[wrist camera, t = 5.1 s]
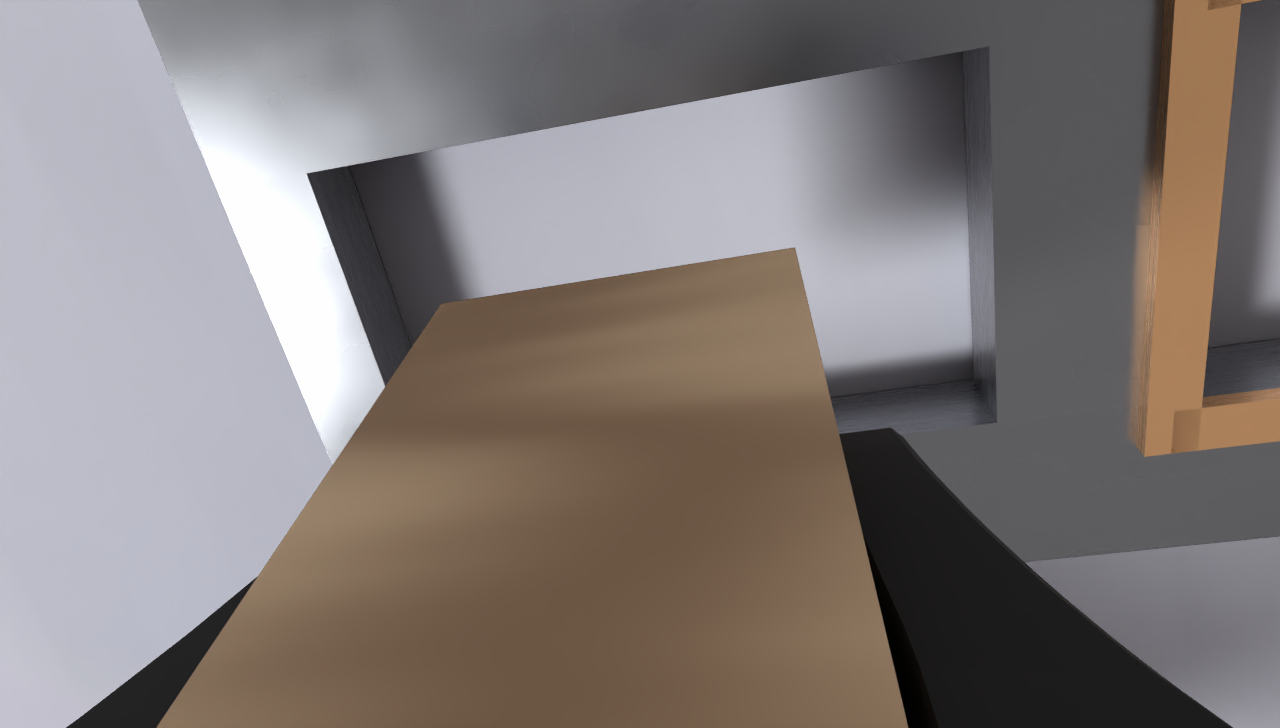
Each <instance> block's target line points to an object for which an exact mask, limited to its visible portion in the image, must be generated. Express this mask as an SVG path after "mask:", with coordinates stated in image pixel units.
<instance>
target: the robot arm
mask: <svg viewBox="0 0 1280 728" xmlns="http://www.w3.org/2000/svg"><path fill="white" fill-rule="evenodd" d="M839 436H840V441H841V445H842V449H843V453H844V457H845V462H846V466H847V470H848V474H849V479H850V483H851V487H852V491H853V496H854V500H855V504H856V508H857V512H858V517H859V521H860V525H861V529H862V534H863V538H864V542H865V546H866V551H867V555H868V559H869V563H870V568H871V572H872V576H873V580H874V584H875V589H876V593H877V597H878V601H879V606H880V610H881V614H882V618H883V623H884V627H885V631H886V635H887V640H888V644H889V648H890V652H891V656H892V661H893V665H894V669H895V673H896V678H897V682H898V686H899V690H900V695H901V699H902V703H903V707H904V711H905V716H906V720H907V724H908V728H1233V727H1231V726H1230V725H1228V724H1227V723H1226V722H1224V721H1223V720H1221V719H1220V718H1219V717H1217V716H1216V715H1215V714H1213V713H1212V712H1210V711H1209V710H1208V709H1206V708H1205V707H1203V706H1202V705H1201V704H1199V703H1198V702H1196V701H1195V700H1194V699H1192V698H1191V697H1189V696H1188V695H1187V694H1185V693H1184V692H1182V691H1181V690H1180V689H1178V688H1177V687H1176V686H1174V685H1173V684H1172V683H1170V682H1169V681H1168V680H1166V679H1165V678H1164V677H1162V676H1161V675H1160V674H1158V673H1157V672H1156V671H1154V670H1153V669H1152V668H1150V667H1149V666H1148V665H1147V664H1145V663H1144V662H1143V661H1141V660H1140V659H1139V658H1138V657H1136V656H1135V655H1134V654H1132V653H1131V652H1130V651H1129V650H1127V649H1126V648H1125V647H1124V646H1122V645H1121V644H1120V643H1118V642H1117V641H1116V640H1115V639H1113V638H1112V637H1111V636H1110V635H1109V634H1107V633H1106V632H1105V631H1104V630H1103V629H1101V628H1100V627H1099V626H1098V625H1096V624H1095V623H1094V622H1093V621H1092V620H1090V619H1089V618H1088V617H1087V616H1086V615H1084V614H1083V613H1082V612H1081V611H1080V610H1078V609H1077V608H1076V607H1075V606H1074V605H1072V604H1071V603H1070V602H1069V601H1068V600H1066V599H1065V598H1064V597H1063V596H1062V595H1061V594H1059V593H1058V592H1057V591H1056V590H1055V589H1054V588H1053V587H1051V586H1050V585H1049V584H1048V583H1047V582H1046V581H1045V580H1043V579H1042V578H1041V577H1040V576H1039V575H1038V574H1037V573H1035V572H1034V571H1033V570H1032V569H1031V568H1030V567H1029V566H1028V565H1027V564H1026V563H1025V562H1024V561H1023V560H1021V559H1020V558H1019V557H1018V556H1017V555H1016V554H1015V553H1014V552H1013V551H1012V550H1011V549H1010V548H1009V547H1008V546H1007V545H1005V544H1004V543H1003V542H1002V541H1001V540H1000V539H999V538H998V537H997V536H996V535H995V534H994V533H993V532H992V531H990V530H989V529H988V528H987V527H986V526H985V525H984V524H983V523H982V522H981V521H980V520H979V519H978V518H977V517H976V516H975V515H974V514H973V513H972V512H971V511H970V510H969V509H968V508H967V507H966V506H965V505H964V504H963V503H962V502H961V501H960V500H959V499H958V498H957V497H956V496H955V494H954V493H953V492H952V491H951V490H950V489H949V488H948V487H947V486H946V485H945V484H944V483H943V482H942V481H941V480H940V479H939V478H938V476H937V475H936V474H935V473H934V472H933V471H932V470H931V469H930V468H929V467H928V465H927V464H926V463H925V462H924V461H923V460H922V459H921V458H920V456H919V455H918V454H917V453H916V452H915V450H914V449H913V448H912V447H911V446H910V445H909V443H908V442H907V441H906V440H905V438H904V437H903V436H901V435H900V434H899V433H897V432H896V431H895V430H893V429H892V428H883V429H875V430H867V431H859V432H851V433H843V434H839ZM256 579H257V577H256V578H255V579H254V580H253V581H252V582H250V583H249V584H248V585H247V586H246V587H244V588H243V589H242V590H241V591H240V592H238V593H237V594H236V595H235V596H233V597H232V598H231V599H230V600H229V601H227V602H226V603H225V604H224V605H223V606H221V607H220V608H219V609H218V610H216V611H215V612H214V613H213V614H212V615H210V616H209V617H208V618H207V619H206V620H204V621H203V622H202V623H201V624H200V625H198V626H197V627H196V628H195V629H193V630H192V631H191V632H190V633H188V634H187V635H186V636H185V637H183V638H182V639H181V640H180V641H178V642H177V643H176V644H174V645H173V646H172V647H171V648H169V649H168V650H167V651H165V652H164V653H163V654H161V655H160V656H159V657H158V658H156V659H155V660H154V661H152V662H151V663H150V664H149V665H147V666H146V667H145V668H143V669H142V670H141V671H140V672H138V673H137V674H136V675H134V676H133V677H132V678H131V679H129V680H128V681H127V682H125V683H124V684H123V685H122V686H120V687H119V688H118V689H116V690H115V691H114V692H112V693H111V694H110V695H109V696H107V697H106V698H105V699H103V700H102V701H101V702H100V703H98V704H97V705H96V706H94V707H93V708H92V709H91V710H89V711H88V712H87V713H85V714H84V715H83V716H82V717H80V718H79V719H77V720H76V721H75V722H73V723H72V724H71V725H69V726H68V727H66V728H156V727H157V726H158V725H159V723H160V722H161V720H162V719H163V717H164V716H165V714H166V713H167V711H168V710H169V708H170V707H171V705H172V704H173V702H174V701H175V699H176V698H177V696H178V695H179V693H180V692H181V690H182V689H183V687H184V686H185V684H186V683H187V681H188V680H189V678H190V677H191V675H192V674H193V672H194V671H195V669H196V668H197V666H198V665H199V663H200V662H201V660H202V659H203V657H204V656H205V655H206V653H207V652H208V650H209V649H210V647H211V646H212V644H213V643H214V641H215V640H216V638H217V637H218V635H219V634H220V632H221V631H222V629H223V628H224V626H225V625H226V623H227V622H228V620H229V619H230V617H231V616H232V614H233V613H234V611H235V610H236V608H237V607H238V605H239V604H240V602H241V601H242V599H243V598H244V596H245V595H246V593H247V592H248V590H249V589H250V587H251V586H252V584H253V583H254V582H255V580H256Z"/></svg>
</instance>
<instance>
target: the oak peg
mask: <svg viewBox="0 0 1280 728" xmlns="http://www.w3.org/2000/svg"><path fill="white" fill-rule="evenodd" d="M156 728H908V724H907V720H906V716H905V711H904V707H903V703H902V699H901V695H900V690H899V686H898V682H897V678H896V673H895V669H894V665H893V661H892V656H891V652H890V648H889V644H888V640H887V635H886V631H885V627H884V623H883V618H882V614H881V610H880V606H879V601H878V597H877V593H876V589H875V584H874V580H873V576H872V572H871V568H870V563H869V559H868V555H867V551H866V546H865V542H864V538H863V534H862V529H861V525H860V521H859V517H858V512H857V508H856V504H855V500H854V496H853V491H852V487H851V483H850V479H849V474H848V470H847V466H846V462H845V457H844V453H843V449H842V445H841V441H840V436H839V432H838V428H837V424H836V419H835V415H834V411H833V407H832V402H831V398H830V394H829V390H828V385H827V381H826V377H825V373H824V369H823V364H822V360H821V356H820V352H819V347H818V343H817V339H816V335H815V330H814V326H813V322H812V318H811V313H810V309H809V305H808V301H807V297H806V292H805V288H804V284H803V280H802V275H801V271H800V267H799V263H798V258H797V254H796V250H795V248H789V249H782V250H776V251H770V252H763V253H757V254H751V255H745V256H738V257H732V258H726V259H719V260H713V261H707V262H700V263H694V264H688V265H682V266H675V267H669V268H663V269H656V270H650V271H644V272H638V273H631V274H625V275H619V276H612V277H606V278H600V279H593V280H587V281H581V282H575V283H568V284H562V285H556V286H549V287H543V288H537V289H530V290H524V291H518V292H512V293H505V294H499V295H493V296H486V297H480V298H474V299H467V300H461V301H455V302H449V303H442V304H440V306H439V307H438V309H437V310H436V312H435V313H434V315H433V316H432V318H431V319H430V321H429V322H428V324H427V325H426V327H425V328H424V330H423V331H422V333H421V334H420V336H419V337H418V339H417V340H416V342H415V343H414V345H413V346H412V348H411V349H410V351H409V352H408V354H407V355H406V357H405V358H404V360H403V361H402V363H401V364H400V366H399V367H398V369H397V370H396V372H395V373H394V374H393V376H392V377H391V379H390V380H389V382H388V383H387V385H386V386H385V388H384V389H383V391H382V392H381V394H380V395H379V397H378V398H377V400H376V401H375V403H374V404H373V406H372V407H371V409H370V410H369V412H368V413H367V415H366V416H365V418H364V419H363V421H362V422H361V424H360V425H359V427H358V428H357V430H356V431H355V433H354V434H353V436H352V437H351V439H350V440H349V442H348V443H347V444H346V446H345V447H344V449H343V450H342V452H341V453H340V455H339V456H338V458H337V459H336V461H335V462H334V464H333V465H332V467H331V468H330V470H329V471H328V473H327V474H326V476H325V477H324V479H323V480H322V482H321V483H320V485H319V486H318V488H317V489H316V491H315V492H314V494H313V495H312V497H311V498H310V500H309V501H308V503H307V504H306V506H305V507H304V509H303V510H302V512H301V513H300V514H299V516H298V517H297V519H296V520H295V522H294V523H293V525H292V526H291V528H290V529H289V531H288V532H287V534H286V535H285V537H284V538H283V540H282V541H281V543H280V544H279V546H278V547H277V549H276V550H275V552H274V553H273V555H272V556H271V558H270V559H269V561H268V562H267V564H266V565H265V567H264V568H263V570H262V571H261V573H260V574H259V576H258V577H257V579H256V580H255V582H254V583H253V584H252V586H251V587H250V589H249V590H248V592H247V593H246V595H245V596H244V598H243V599H242V601H241V602H240V604H239V605H238V607H237V608H236V610H235V611H234V613H233V614H232V616H231V617H230V619H229V620H228V622H227V623H226V625H225V626H224V628H223V629H222V631H221V632H220V634H219V635H218V637H217V638H216V640H215V641H214V643H213V644H212V646H211V647H210V649H209V650H208V652H207V653H206V655H205V656H204V657H203V659H202V660H201V662H200V663H199V665H198V666H197V668H196V669H195V671H194V672H193V674H192V675H191V677H190V678H189V680H188V681H187V683H186V684H185V686H184V687H183V689H182V690H181V692H180V693H179V695H178V696H177V698H176V699H175V701H174V702H173V704H172V705H171V707H170V708H169V710H168V711H167V713H166V714H165V716H164V717H163V719H162V720H161V722H160V723H159V725H158V726H157V727H156Z"/></svg>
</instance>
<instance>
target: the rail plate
mask: <svg viewBox="0 0 1280 728" xmlns="http://www.w3.org/2000/svg"><path fill="white" fill-rule="evenodd" d="M1255 1H1260V0H138V2H139V5H140V7H141V10H142V12H143V14H144V17H145V19H146V22H147V24H148V26H149V29H150V31H151V33H152V36H153V38H154V41H155V43H156V45H157V48H158V50H159V53H160V55H161V57H162V60H163V62H164V65H165V67H166V69H167V72H168V74H169V76H170V79H171V81H172V84H173V86H174V88H175V91H176V93H177V96H178V98H179V100H180V103H181V105H182V108H183V110H184V112H185V115H186V117H187V120H188V122H189V124H190V127H191V129H192V131H193V134H194V136H195V139H196V141H197V143H198V146H199V148H200V151H201V153H202V155H203V158H204V160H205V163H206V165H207V167H208V170H209V172H210V174H211V177H212V179H213V182H214V184H215V186H216V189H217V191H218V194H219V196H220V198H221V201H222V203H223V206H224V208H225V210H226V213H227V215H228V217H229V220H230V222H231V225H232V227H233V229H234V232H235V234H236V237H237V239H238V241H239V244H240V246H241V249H242V251H243V253H244V256H245V258H246V260H247V263H248V265H249V268H250V270H251V272H252V275H253V277H254V280H255V282H256V284H257V287H258V289H259V292H260V294H261V296H262V299H263V301H264V303H265V306H266V308H267V311H268V313H269V315H270V318H271V320H272V323H273V325H274V327H275V330H276V332H277V335H278V337H279V339H280V342H281V344H282V346H283V349H284V351H285V354H286V356H287V358H288V361H289V363H290V366H291V368H292V370H293V373H294V375H295V378H296V380H297V382H298V385H299V387H300V389H301V392H302V394H303V397H304V399H305V401H306V404H307V406H308V409H309V411H310V413H311V416H312V418H313V421H314V423H315V425H316V428H317V430H318V433H319V435H320V437H321V440H322V442H323V444H324V447H325V449H326V452H327V454H328V456H329V459H330V461H331V464H332V465H333V464H334V462H335V461H336V459H337V458H338V456H339V455H340V453H341V452H342V450H343V449H344V447H345V446H346V444H347V443H348V442H349V440H350V439H351V437H352V436H353V434H354V433H355V431H356V430H357V428H358V427H359V425H360V424H361V422H362V421H363V419H364V418H365V416H366V415H367V413H368V412H369V410H370V409H371V407H372V406H373V404H374V403H375V401H376V400H377V398H378V397H379V395H380V394H381V392H382V391H383V389H384V388H385V386H386V385H387V383H388V382H389V380H390V379H391V377H392V376H393V374H394V373H395V372H396V370H397V369H398V367H399V366H400V364H401V363H402V361H403V360H404V358H405V357H406V355H407V354H408V352H409V351H410V349H411V345H410V342H409V339H408V336H407V333H406V330H405V327H404V324H403V322H402V319H401V316H400V313H399V310H398V307H397V304H396V301H395V299H394V296H393V293H392V290H391V287H390V284H389V281H388V278H387V275H386V273H385V270H384V267H383V264H382V261H381V258H380V255H379V252H378V249H377V247H376V244H375V241H374V238H373V235H372V232H371V229H370V226H369V224H368V221H367V218H366V215H365V212H364V209H363V206H362V203H361V200H360V198H359V195H358V192H357V189H356V186H355V183H354V180H353V177H352V174H351V172H350V169H349V165H354V164H360V163H365V162H371V161H376V160H381V159H387V158H392V157H397V156H403V155H408V154H414V153H419V152H424V151H430V150H435V149H440V148H446V147H451V146H456V145H462V144H467V143H473V142H478V141H483V140H489V139H494V138H499V137H505V136H510V135H516V134H521V133H526V132H532V131H537V130H542V129H548V128H553V127H558V126H564V125H569V124H575V123H580V122H585V121H591V120H596V119H601V118H607V117H612V116H618V115H623V114H628V113H634V112H639V111H644V110H650V109H655V108H660V107H666V106H671V105H677V104H682V103H687V102H693V101H698V100H703V99H709V98H714V97H720V96H725V95H730V94H736V93H741V92H746V91H752V90H757V89H762V88H768V87H773V86H779V85H784V84H789V83H795V82H800V81H805V80H811V79H816V78H822V77H827V76H832V75H838V74H843V73H848V72H854V71H859V70H865V69H870V68H875V67H881V66H886V65H891V64H897V63H902V62H907V61H913V60H918V59H924V58H929V57H934V56H940V55H945V54H950V53H956V52H961V51H963V74H964V104H965V135H966V165H967V195H968V225H969V255H970V285H971V316H972V346H973V376H974V379H972V380H965V381H957V382H950V383H942V384H934V385H927V386H919V387H912V388H904V389H896V390H889V391H881V392H874V393H866V394H859V395H851V396H843V397H836V398H831V402H832V407H833V411H834V415H835V419H836V424H837V428H838V432H839V434H843V433H851V432H859V431H867V430H875V429H883V428H892V429H893V430H895V431H896V432H897V433H899V434H900V435H901V436H903V437H904V438H905V440H906V441H907V442H908V443H909V445H910V446H911V447H912V448H913V449H914V450H915V452H916V453H917V454H918V455H919V456H920V458H921V459H922V460H923V461H924V462H925V463H926V464H927V465H928V467H929V468H930V469H931V470H932V471H933V472H934V473H935V474H936V475H937V476H938V478H939V479H940V480H941V481H942V482H943V483H944V484H945V485H946V486H947V487H948V488H949V489H950V490H951V491H952V492H953V493H954V494H955V496H956V497H957V498H958V499H959V500H960V501H961V502H962V503H963V504H964V505H965V506H966V507H967V508H968V509H969V510H970V511H971V512H972V513H973V514H974V515H975V516H976V517H977V518H978V519H979V520H980V521H981V522H982V523H983V524H984V525H985V526H986V527H987V528H988V529H989V530H990V531H992V532H993V533H994V534H995V535H996V536H997V537H998V538H999V539H1000V540H1001V541H1002V542H1003V543H1004V544H1005V545H1007V546H1008V547H1009V548H1010V549H1011V550H1012V551H1013V552H1014V553H1015V554H1016V555H1017V556H1018V557H1019V558H1020V559H1021V560H1023V561H1024V562H1029V561H1039V560H1049V559H1059V558H1069V557H1079V556H1089V555H1099V554H1109V553H1119V552H1129V551H1139V550H1148V549H1158V548H1168V547H1178V546H1188V545H1198V544H1208V543H1218V542H1228V541H1238V540H1248V539H1258V538H1268V537H1278V536H1280V339H1276V340H1268V341H1261V342H1253V343H1246V344H1238V345H1230V346H1223V347H1215V348H1208V339H1209V329H1210V319H1211V308H1212V298H1213V288H1214V278H1215V268H1216V258H1217V247H1218V237H1219V227H1220V217H1221V207H1222V197H1223V186H1224V176H1225V166H1226V156H1227V146H1228V135H1229V125H1230V115H1231V105H1232V95H1233V85H1234V74H1235V64H1236V54H1237V44H1238V34H1239V23H1240V13H1241V4H1244V3H1250V2H1255Z"/></svg>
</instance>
